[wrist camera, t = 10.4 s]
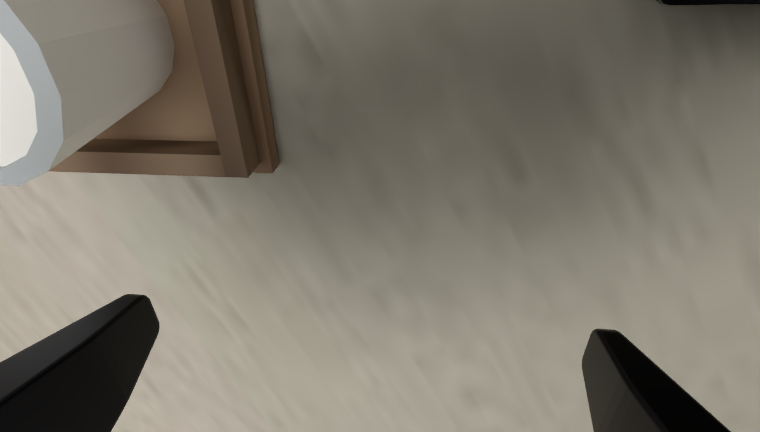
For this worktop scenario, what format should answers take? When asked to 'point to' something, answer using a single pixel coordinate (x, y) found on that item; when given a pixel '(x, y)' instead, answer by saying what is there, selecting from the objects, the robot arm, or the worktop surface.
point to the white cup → (73, 75)
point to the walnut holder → (196, 104)
